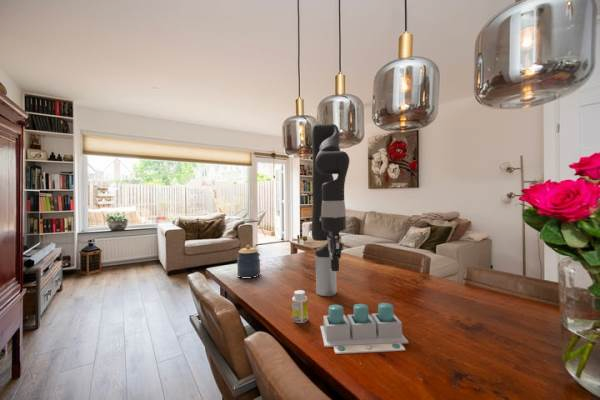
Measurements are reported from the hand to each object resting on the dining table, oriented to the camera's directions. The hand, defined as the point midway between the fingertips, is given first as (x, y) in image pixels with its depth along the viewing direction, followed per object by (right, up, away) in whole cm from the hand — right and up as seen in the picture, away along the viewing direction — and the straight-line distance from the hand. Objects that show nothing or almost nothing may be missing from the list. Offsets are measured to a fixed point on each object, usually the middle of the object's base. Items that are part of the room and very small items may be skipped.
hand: (334, 269), depth 85 cm
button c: (+16, -18, +1) cm, 24 cm away
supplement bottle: (-11, -21, +12) cm, 27 cm away
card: (+9, -21, -7) cm, 24 cm away
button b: (+8, -18, +1) cm, 20 cm away
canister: (-40, -21, +69) cm, 82 cm away
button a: (0, -18, 0) cm, 18 cm away
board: (+9, -21, +1) cm, 22 cm away
